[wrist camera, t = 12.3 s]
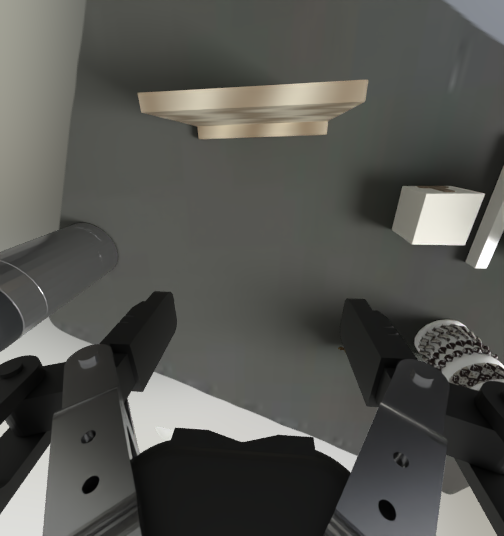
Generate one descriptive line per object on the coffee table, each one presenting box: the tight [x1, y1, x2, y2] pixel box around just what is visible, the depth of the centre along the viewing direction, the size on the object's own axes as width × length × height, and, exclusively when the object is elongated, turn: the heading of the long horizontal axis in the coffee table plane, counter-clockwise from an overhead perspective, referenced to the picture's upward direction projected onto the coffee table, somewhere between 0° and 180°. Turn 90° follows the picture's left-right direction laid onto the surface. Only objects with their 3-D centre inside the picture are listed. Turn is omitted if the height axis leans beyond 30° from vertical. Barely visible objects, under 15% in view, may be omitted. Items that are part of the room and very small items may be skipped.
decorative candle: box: [414, 319, 504, 391], centre depth 31 cm, size 9×9×25 cm
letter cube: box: [392, 186, 485, 245], centre depth 31 cm, size 6×6×6 cm
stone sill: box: [465, 166, 504, 268], centre depth 31 cm, size 16×2×2 cm, turn 2°
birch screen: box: [138, 80, 368, 139], centre depth 24 cm, size 16×4×15 cm, turn 92°
